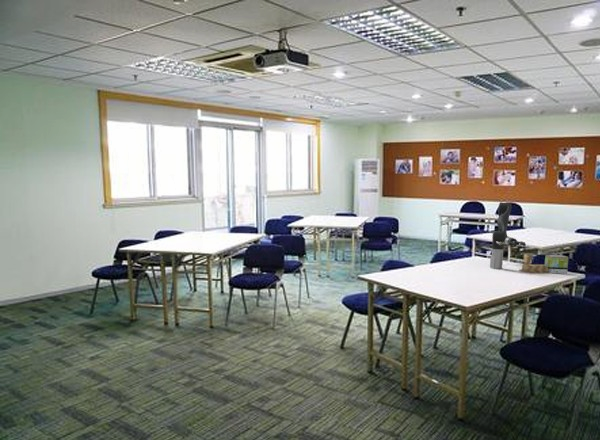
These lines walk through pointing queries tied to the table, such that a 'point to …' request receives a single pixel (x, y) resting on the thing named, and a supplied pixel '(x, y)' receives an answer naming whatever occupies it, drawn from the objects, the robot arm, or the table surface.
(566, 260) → the tea box
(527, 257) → the post
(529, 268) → the ridge board
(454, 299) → the table surface
